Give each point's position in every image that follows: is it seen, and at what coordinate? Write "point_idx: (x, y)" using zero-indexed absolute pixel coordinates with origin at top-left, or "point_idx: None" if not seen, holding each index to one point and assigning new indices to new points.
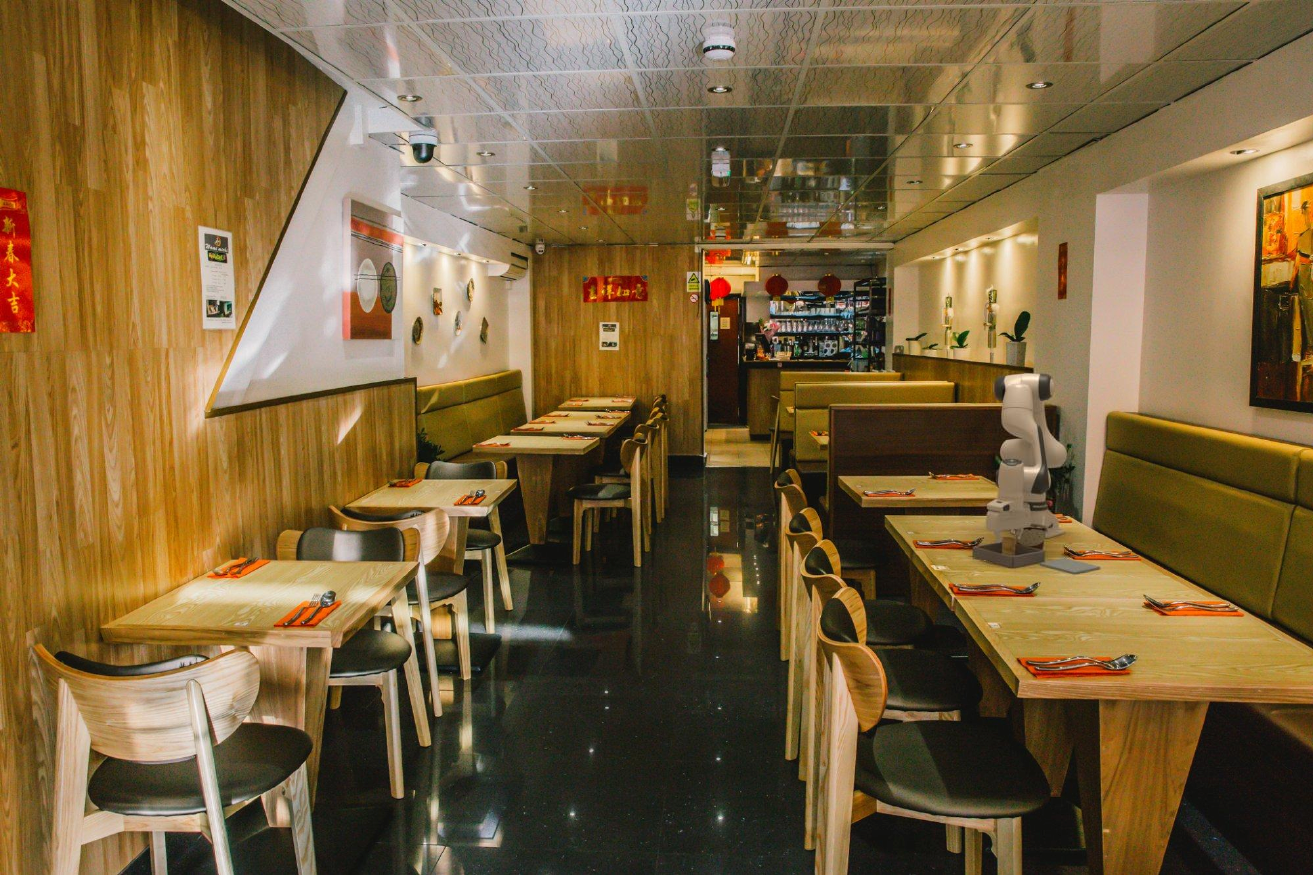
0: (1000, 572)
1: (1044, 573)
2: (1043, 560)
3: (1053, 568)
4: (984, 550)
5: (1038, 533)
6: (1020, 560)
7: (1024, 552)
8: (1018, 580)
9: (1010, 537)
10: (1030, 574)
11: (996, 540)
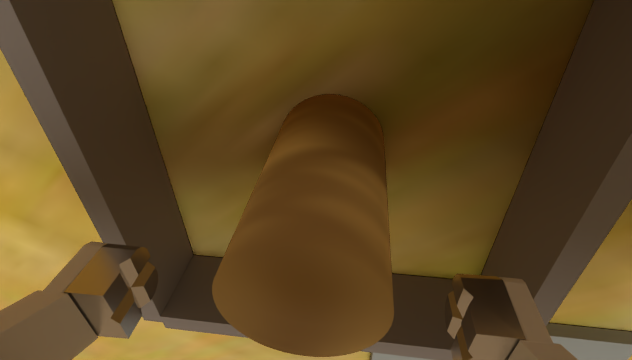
0: None
1: (267, 356)
2: None
3: (371, 356)
4: (32, 102)
5: None
6: None
7: (543, 193)
8: (93, 342)
9: (366, 299)
10: (197, 337)
11: (76, 258)
